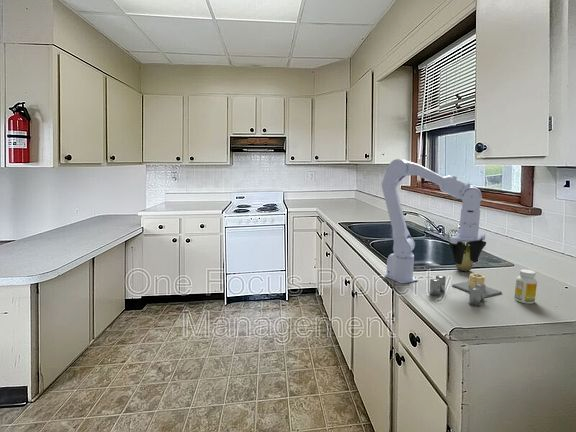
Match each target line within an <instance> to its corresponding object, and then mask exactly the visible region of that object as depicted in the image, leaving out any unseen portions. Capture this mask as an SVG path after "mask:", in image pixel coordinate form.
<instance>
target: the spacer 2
mask: <svg viewBox="0 0 576 432" xmlns="http://www.w3.org/2000/svg"><path fill="white" fill-rule="evenodd" d="M435 279H439V280H440V293H445V292H446V282H447V281H446V279H447V277H446V275H441V274H439V275H435Z"/></svg>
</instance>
